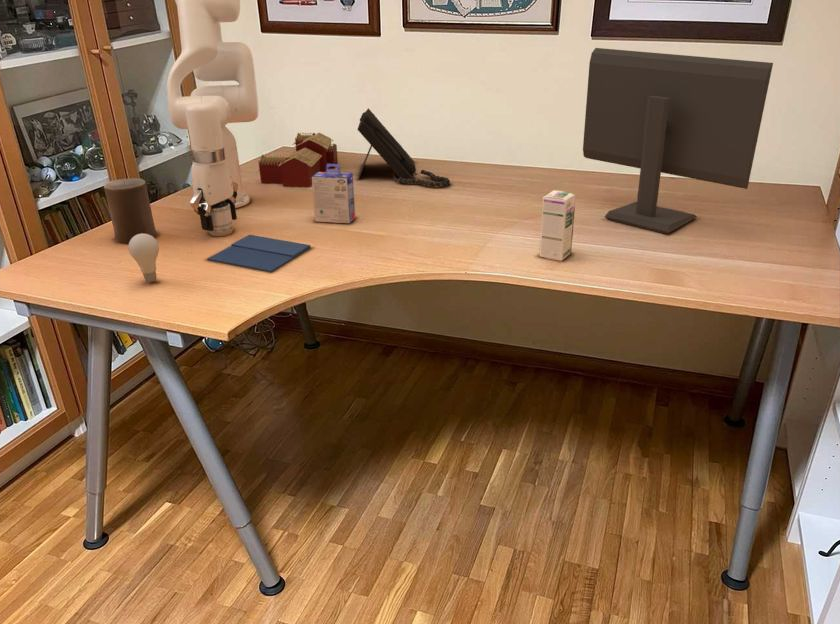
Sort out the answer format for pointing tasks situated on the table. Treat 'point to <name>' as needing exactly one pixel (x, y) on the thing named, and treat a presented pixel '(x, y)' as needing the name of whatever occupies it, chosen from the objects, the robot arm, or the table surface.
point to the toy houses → (299, 161)
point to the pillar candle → (129, 208)
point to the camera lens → (221, 219)
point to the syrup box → (557, 225)
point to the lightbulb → (145, 254)
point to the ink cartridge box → (333, 196)
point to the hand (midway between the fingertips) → (219, 224)
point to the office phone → (393, 152)
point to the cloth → (260, 253)
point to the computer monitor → (673, 123)
